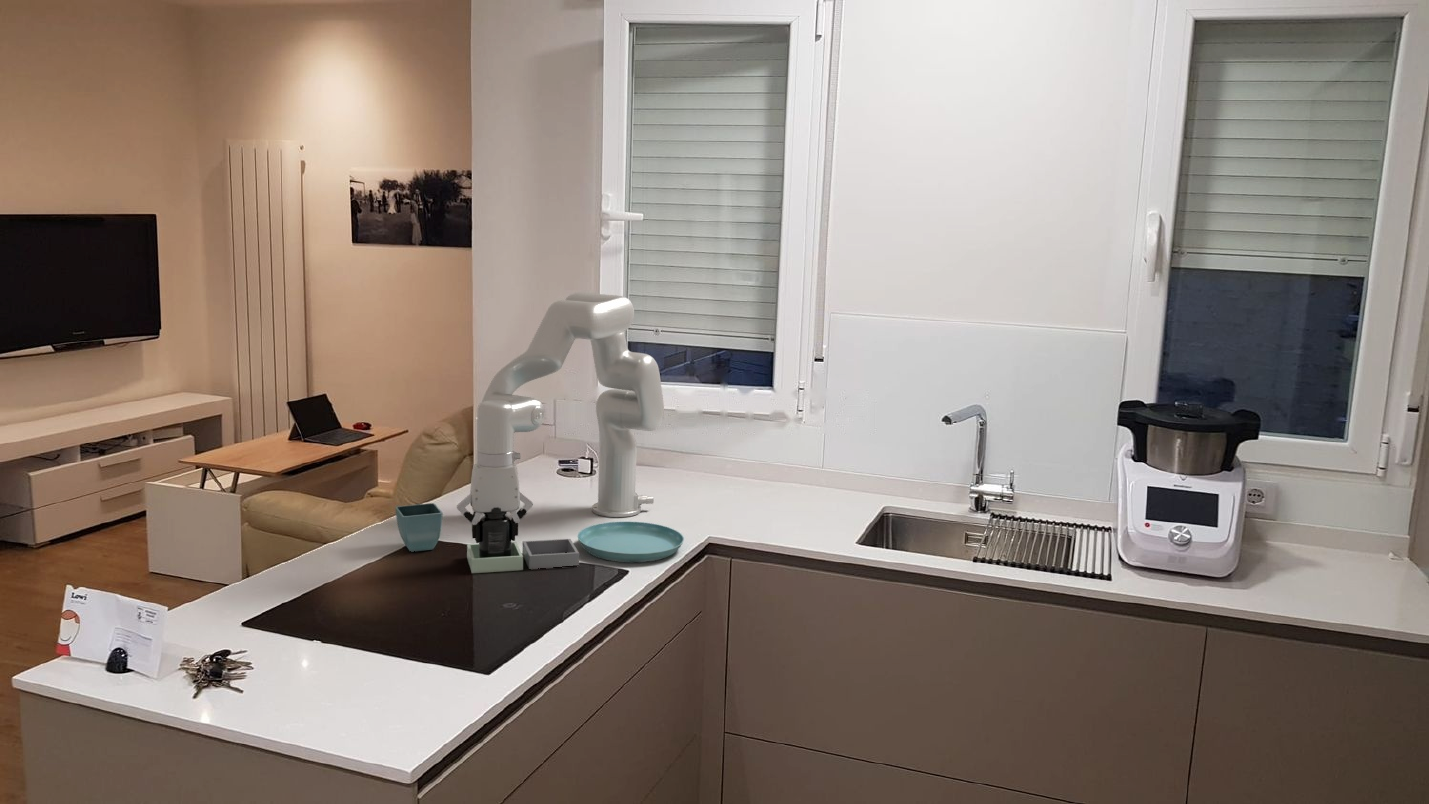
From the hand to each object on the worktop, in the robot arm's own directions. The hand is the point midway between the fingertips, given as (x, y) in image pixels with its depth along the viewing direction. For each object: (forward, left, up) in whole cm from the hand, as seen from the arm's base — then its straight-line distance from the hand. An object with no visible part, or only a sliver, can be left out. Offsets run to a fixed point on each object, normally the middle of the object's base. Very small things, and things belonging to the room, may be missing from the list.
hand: (495, 539), depth 226 cm
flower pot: (+15, -14, -6) cm, 21 cm away
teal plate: (-31, -5, -6) cm, 32 cm away
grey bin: (-12, 0, -5) cm, 13 cm away
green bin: (0, 0, -5) cm, 5 cm away
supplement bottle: (0, 0, -5) cm, 5 cm away
